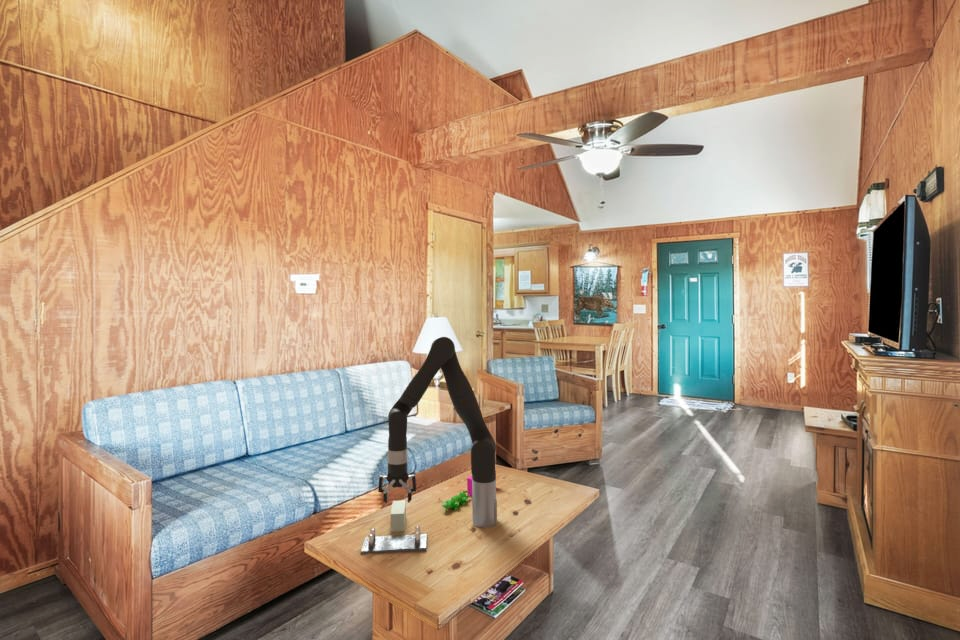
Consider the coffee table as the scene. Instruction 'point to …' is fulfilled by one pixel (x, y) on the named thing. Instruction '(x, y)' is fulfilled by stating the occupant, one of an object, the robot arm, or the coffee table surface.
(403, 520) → the block
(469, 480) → the toy block
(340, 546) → the coffee table surface
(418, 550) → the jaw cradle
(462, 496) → the crocodile figurine
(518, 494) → the coffee table surface
